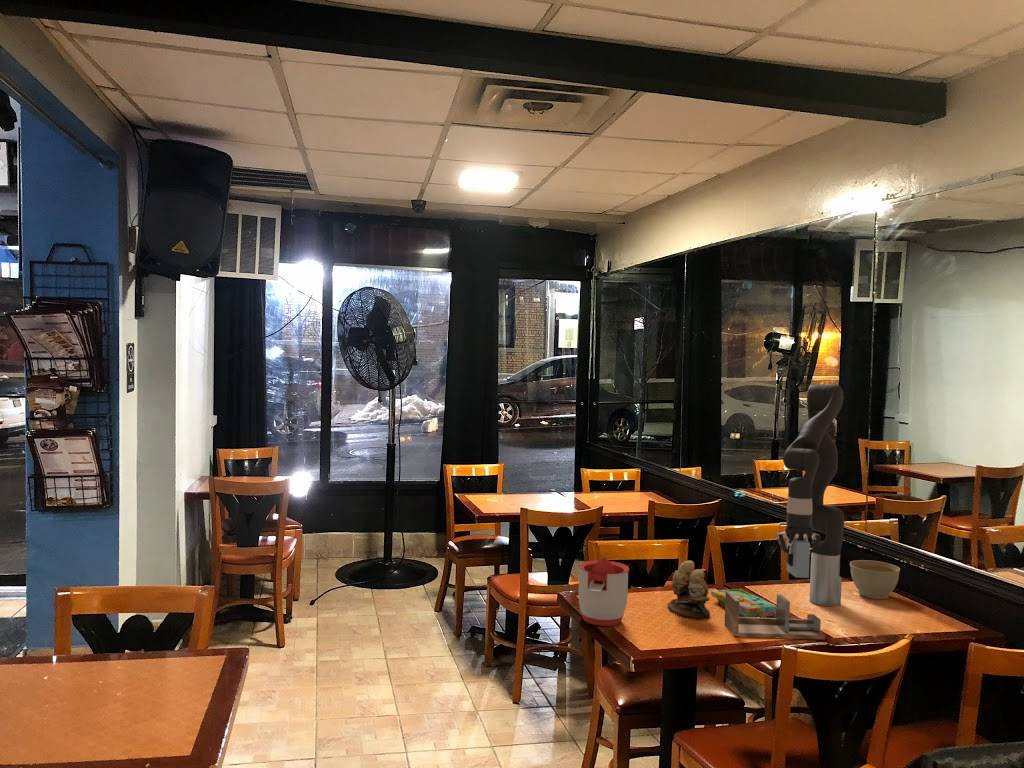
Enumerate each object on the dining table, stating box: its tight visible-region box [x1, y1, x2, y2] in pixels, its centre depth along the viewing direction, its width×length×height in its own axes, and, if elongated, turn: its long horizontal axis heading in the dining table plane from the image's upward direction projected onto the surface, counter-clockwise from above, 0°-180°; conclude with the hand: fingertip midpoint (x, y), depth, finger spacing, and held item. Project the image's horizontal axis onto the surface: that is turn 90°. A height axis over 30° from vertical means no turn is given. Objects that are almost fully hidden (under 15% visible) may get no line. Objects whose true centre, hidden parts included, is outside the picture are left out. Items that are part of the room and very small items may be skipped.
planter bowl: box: [849, 559, 901, 600], centre depth 271 cm, size 16×16×11 cm
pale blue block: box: [785, 537, 811, 579], centre depth 239 cm, size 4×8×11 cm, turn 0°
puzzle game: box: [710, 588, 777, 618], centre depth 251 cm, size 12×5×20 cm
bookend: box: [775, 593, 822, 632], centre depth 229 cm, size 11×8×9 cm
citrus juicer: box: [578, 556, 630, 628], centre depth 233 cm, size 16×17×20 cm
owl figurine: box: [667, 560, 711, 621], centre depth 245 cm, size 18×12×17 cm, turn 21°
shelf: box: [724, 591, 826, 640], centre depth 229 cm, size 27×10×11 cm, turn 90°
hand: (797, 565), depth 239 cm, fingers closed on pale blue block, 4 cm apart
